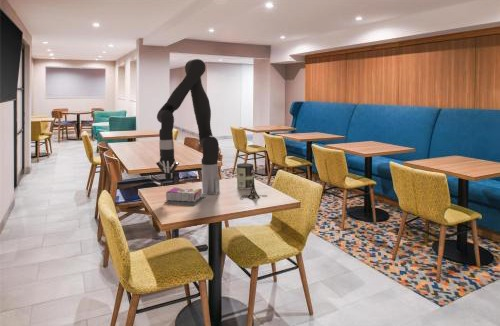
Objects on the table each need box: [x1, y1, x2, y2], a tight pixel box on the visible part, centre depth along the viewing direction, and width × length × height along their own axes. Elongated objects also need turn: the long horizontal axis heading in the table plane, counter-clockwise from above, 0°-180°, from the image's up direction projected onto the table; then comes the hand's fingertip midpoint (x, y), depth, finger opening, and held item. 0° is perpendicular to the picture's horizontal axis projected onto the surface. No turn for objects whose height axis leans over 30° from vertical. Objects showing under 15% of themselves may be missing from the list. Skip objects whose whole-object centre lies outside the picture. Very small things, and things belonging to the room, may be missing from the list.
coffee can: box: [236, 162, 254, 190], centre depth 227 cm, size 10×10×14 cm
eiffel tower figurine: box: [239, 174, 268, 201], centre depth 205 cm, size 15×10×13 cm
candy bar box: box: [165, 187, 203, 202], centre depth 203 cm, size 11×5×16 cm
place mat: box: [164, 195, 207, 207], centre depth 202 cm, size 17×16×1 cm
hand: (168, 179), depth 203 cm, fingers closed
